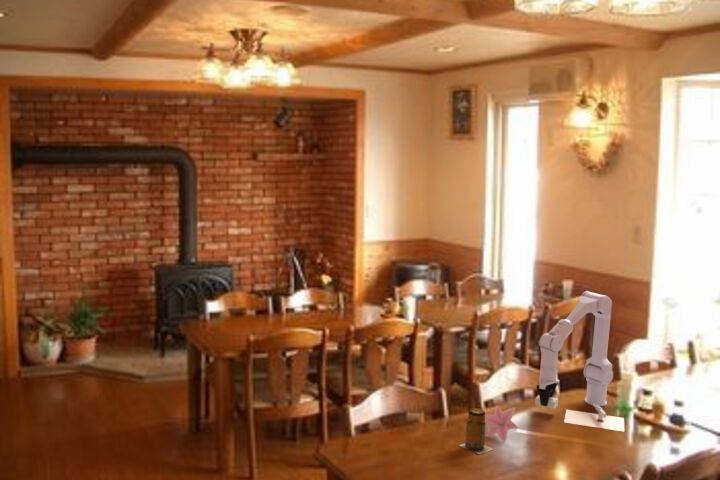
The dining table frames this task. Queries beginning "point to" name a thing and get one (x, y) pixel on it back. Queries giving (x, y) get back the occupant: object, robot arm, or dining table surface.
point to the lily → (500, 422)
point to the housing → (594, 420)
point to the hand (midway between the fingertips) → (546, 403)
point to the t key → (600, 410)
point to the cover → (551, 403)
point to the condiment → (476, 432)
